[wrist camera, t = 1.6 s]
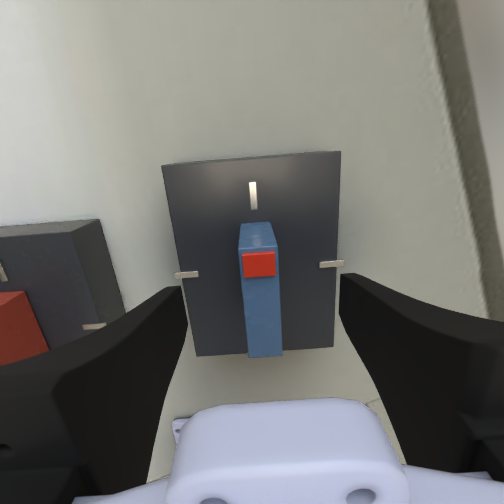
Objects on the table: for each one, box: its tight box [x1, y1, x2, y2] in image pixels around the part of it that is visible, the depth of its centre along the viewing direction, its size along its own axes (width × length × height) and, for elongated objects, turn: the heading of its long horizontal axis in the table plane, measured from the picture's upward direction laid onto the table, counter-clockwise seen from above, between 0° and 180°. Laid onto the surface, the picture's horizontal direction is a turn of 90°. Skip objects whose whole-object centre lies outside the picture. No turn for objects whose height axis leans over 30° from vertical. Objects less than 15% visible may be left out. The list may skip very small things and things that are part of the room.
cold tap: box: [238, 221, 283, 358], centre depth 13 cm, size 6×2×4 cm, turn 4°
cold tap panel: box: [161, 151, 344, 357], centre depth 17 cm, size 12×10×3 cm
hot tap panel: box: [0, 219, 126, 350], centre depth 18 cm, size 12×10×3 cm
